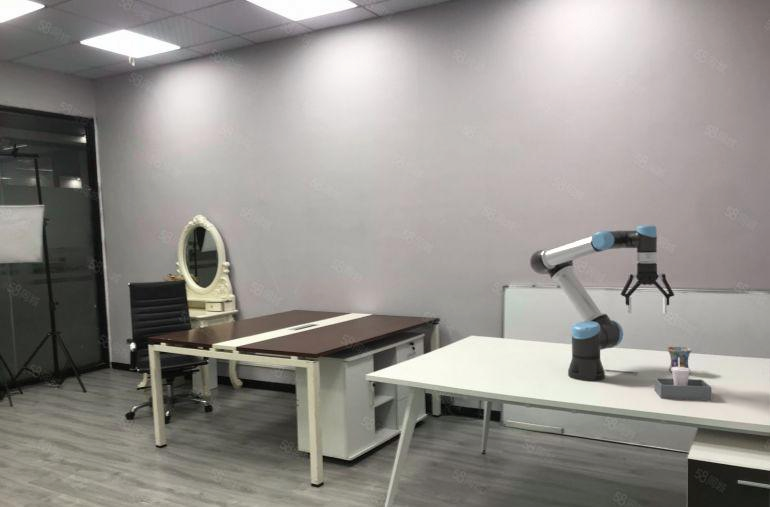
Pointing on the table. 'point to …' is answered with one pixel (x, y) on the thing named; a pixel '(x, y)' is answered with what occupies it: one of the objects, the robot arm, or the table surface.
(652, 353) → the table surface
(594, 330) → the robot arm
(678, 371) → the smoothie
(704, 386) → the tray
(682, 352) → the mug
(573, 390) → the table surface
